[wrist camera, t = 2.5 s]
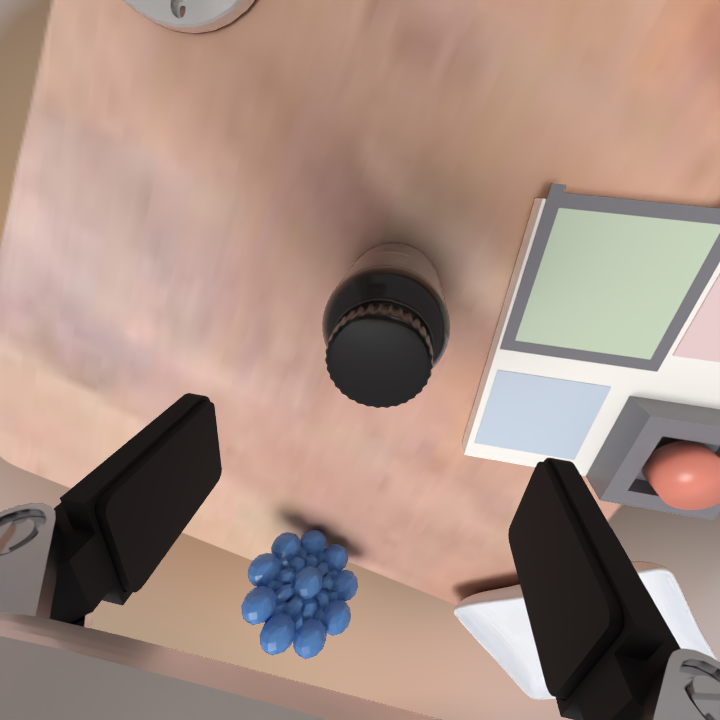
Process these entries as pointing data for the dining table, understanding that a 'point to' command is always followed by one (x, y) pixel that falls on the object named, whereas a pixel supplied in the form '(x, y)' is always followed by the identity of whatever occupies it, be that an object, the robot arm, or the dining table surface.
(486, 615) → the salad plate
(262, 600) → the grapes
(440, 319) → the supplement bottle
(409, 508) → the dining table surface
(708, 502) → the button
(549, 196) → the printed board
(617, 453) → the button housing
